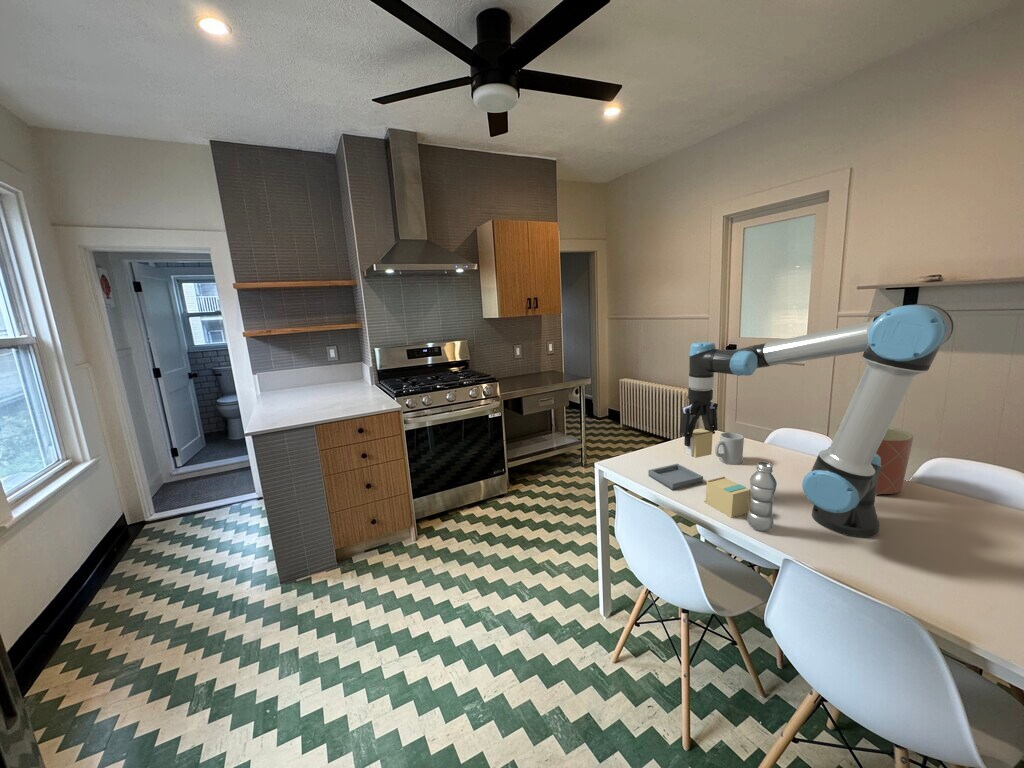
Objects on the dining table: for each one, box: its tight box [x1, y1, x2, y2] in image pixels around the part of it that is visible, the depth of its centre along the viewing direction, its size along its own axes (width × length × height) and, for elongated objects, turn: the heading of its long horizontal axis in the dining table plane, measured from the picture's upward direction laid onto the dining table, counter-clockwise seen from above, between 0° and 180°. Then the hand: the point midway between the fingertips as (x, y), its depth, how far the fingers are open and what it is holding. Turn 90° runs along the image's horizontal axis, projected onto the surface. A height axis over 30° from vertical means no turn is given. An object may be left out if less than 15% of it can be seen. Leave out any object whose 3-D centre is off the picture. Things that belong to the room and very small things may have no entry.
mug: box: [714, 432, 745, 466], centre depth 159 cm, size 12×8×11 cm
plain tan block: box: [683, 427, 714, 459], centre depth 134 cm, size 5×7×8 cm
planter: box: [836, 423, 914, 496], centre depth 134 cm, size 19×19×20 cm
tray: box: [647, 463, 704, 491], centre depth 147 cm, size 13×14×2 cm
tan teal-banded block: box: [703, 476, 751, 519], centre depth 125 cm, size 11×7×8 cm, turn 20°
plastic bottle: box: [746, 461, 778, 532], centre depth 112 cm, size 6×7×20 cm
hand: (697, 452), depth 134 cm, fingers closed on plain tan block, 7 cm apart
